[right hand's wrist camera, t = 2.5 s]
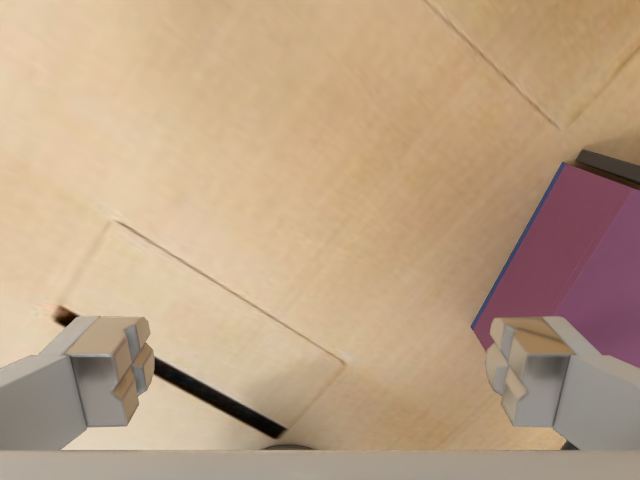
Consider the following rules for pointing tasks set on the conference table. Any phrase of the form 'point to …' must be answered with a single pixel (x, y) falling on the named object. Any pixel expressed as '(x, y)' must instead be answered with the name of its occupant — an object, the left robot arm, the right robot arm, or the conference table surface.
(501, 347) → the right robot arm
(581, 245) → the cabinet
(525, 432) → the conference table surface
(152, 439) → the conference table surface
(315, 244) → the conference table surface
